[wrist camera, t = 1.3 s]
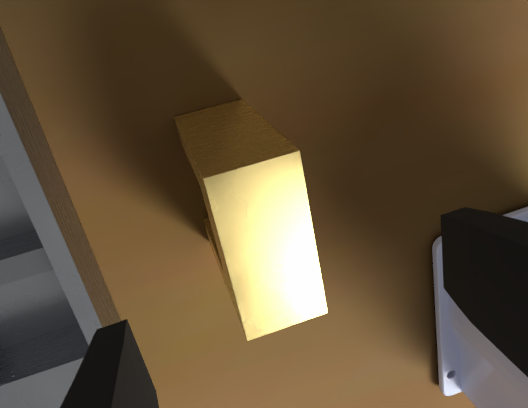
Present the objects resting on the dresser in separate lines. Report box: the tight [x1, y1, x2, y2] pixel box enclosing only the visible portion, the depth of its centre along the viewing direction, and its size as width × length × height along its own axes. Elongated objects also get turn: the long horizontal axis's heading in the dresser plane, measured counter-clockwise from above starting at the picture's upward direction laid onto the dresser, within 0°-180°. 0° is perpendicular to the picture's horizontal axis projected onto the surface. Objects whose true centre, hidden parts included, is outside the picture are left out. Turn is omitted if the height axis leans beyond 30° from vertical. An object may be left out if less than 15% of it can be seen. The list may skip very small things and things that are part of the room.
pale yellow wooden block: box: [174, 99, 328, 341], centre depth 16 cm, size 5×2×6 cm, turn 11°
